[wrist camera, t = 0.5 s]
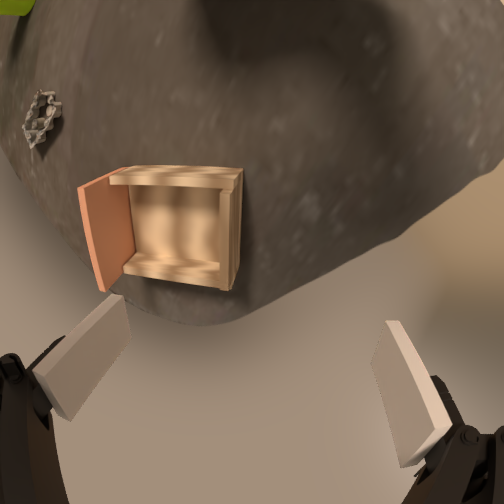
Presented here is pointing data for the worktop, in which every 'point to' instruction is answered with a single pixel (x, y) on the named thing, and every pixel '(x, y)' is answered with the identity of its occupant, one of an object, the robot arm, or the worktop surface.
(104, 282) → the panel
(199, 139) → the worktop surface
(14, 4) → the soap dispenser
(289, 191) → the worktop surface
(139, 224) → the wooden open box
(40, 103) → the egg carton
